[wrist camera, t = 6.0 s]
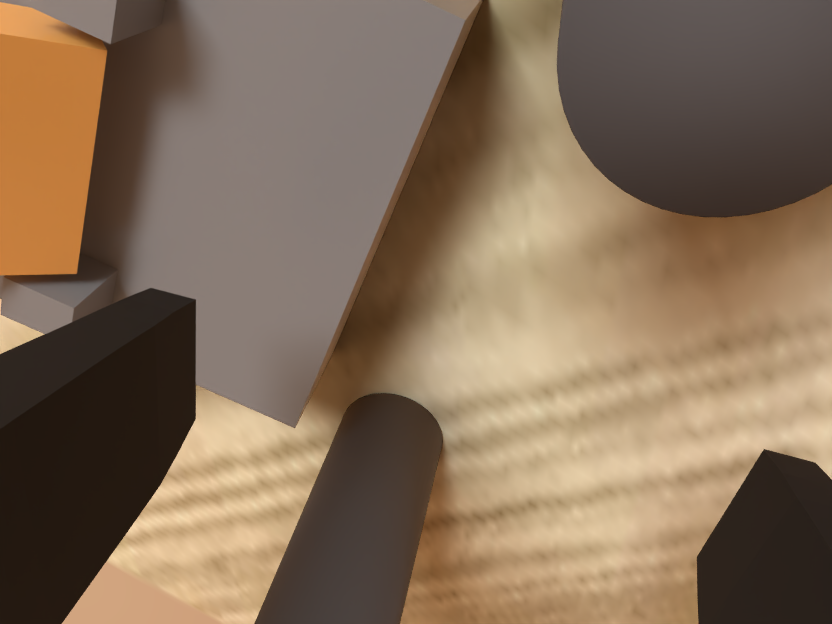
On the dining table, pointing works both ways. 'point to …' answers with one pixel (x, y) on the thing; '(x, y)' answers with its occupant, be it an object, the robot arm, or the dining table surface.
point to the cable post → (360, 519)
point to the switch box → (248, 171)
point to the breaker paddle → (45, 139)
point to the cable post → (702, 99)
